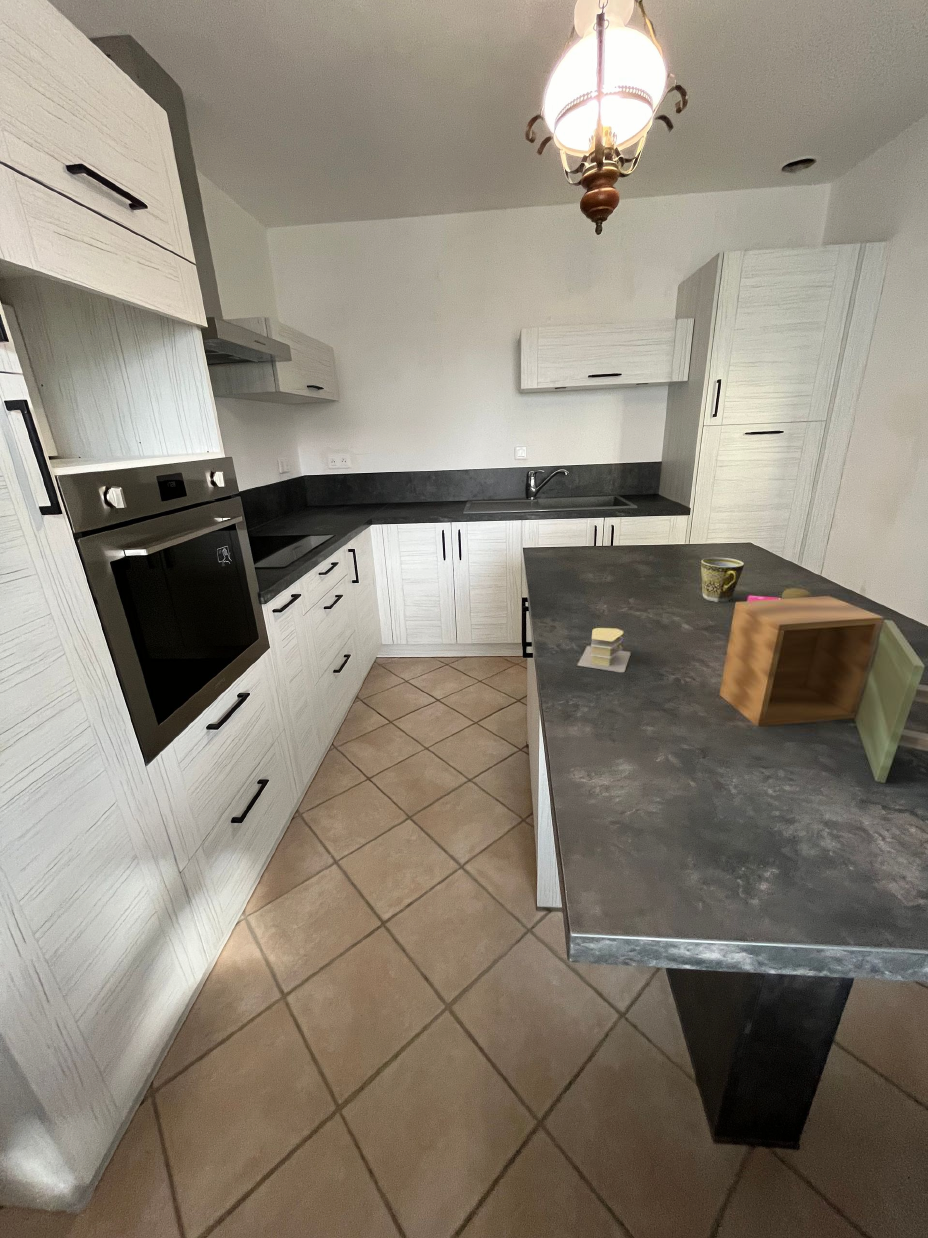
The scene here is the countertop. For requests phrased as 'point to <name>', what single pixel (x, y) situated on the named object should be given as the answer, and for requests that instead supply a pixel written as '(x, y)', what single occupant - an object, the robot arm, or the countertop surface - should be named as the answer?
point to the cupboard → (798, 659)
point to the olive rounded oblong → (795, 593)
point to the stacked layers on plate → (605, 651)
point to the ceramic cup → (720, 578)
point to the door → (890, 701)
